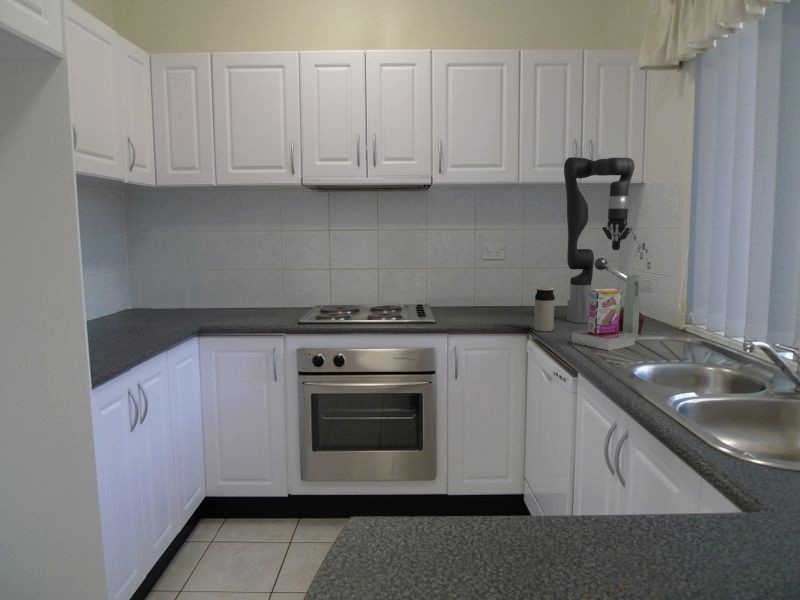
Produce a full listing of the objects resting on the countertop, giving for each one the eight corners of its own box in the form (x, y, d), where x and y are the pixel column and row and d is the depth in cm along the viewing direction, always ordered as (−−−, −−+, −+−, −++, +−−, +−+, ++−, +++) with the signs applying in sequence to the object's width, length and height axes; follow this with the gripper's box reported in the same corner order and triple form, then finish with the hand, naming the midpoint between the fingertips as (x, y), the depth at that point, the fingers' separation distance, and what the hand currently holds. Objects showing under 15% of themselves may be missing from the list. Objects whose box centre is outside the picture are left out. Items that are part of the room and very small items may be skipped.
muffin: (616, 329, 237) (617, 306, 236) (644, 331, 232) (645, 308, 231) (612, 334, 227) (613, 310, 226) (642, 337, 222) (643, 312, 220)
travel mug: (540, 332, 232) (541, 289, 229) (530, 328, 240) (531, 287, 237) (557, 331, 234) (558, 288, 232) (547, 327, 242) (548, 286, 239)
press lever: (593, 292, 227) (591, 258, 227) (600, 291, 230) (599, 257, 229) (650, 292, 207) (648, 254, 206) (657, 291, 210) (656, 254, 209)
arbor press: (571, 342, 212) (574, 277, 208) (613, 334, 227) (616, 273, 223) (608, 350, 199) (612, 280, 195) (649, 341, 214) (653, 276, 210)
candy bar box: (595, 335, 205) (597, 290, 203) (586, 332, 210) (588, 289, 208) (620, 332, 209) (622, 289, 207) (610, 330, 214) (612, 288, 211)
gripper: (598, 207, 231) (596, 249, 234) (627, 207, 220) (624, 251, 223) (609, 207, 235) (607, 249, 238) (638, 207, 225) (635, 250, 227)
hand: (615, 250), depth 231 cm, fingers closed
